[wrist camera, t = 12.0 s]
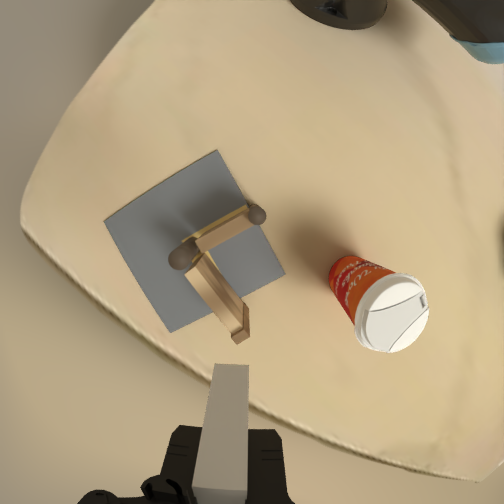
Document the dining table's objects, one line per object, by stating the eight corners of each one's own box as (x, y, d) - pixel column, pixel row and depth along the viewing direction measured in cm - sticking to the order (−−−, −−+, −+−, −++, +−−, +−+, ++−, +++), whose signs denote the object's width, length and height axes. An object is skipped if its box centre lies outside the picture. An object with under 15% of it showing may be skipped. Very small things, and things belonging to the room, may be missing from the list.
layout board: (104, 221, 34) (103, 221, 34) (217, 150, 33) (217, 149, 33) (170, 331, 37) (170, 333, 37) (285, 273, 36) (285, 274, 36)
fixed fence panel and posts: (182, 241, 35) (164, 255, 27) (256, 200, 34) (259, 202, 26) (191, 255, 35) (175, 274, 27) (264, 215, 35) (270, 221, 26)
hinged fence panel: (195, 259, 35) (181, 276, 27) (205, 252, 34) (195, 267, 27) (238, 315, 36) (236, 344, 29) (248, 308, 36) (249, 336, 28)
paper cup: (360, 236, 35) (419, 259, 21) (383, 284, 37) (440, 325, 23) (308, 268, 36) (344, 311, 22) (335, 315, 37) (375, 372, 23)
